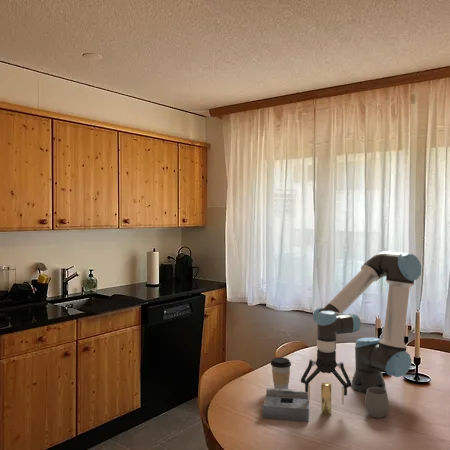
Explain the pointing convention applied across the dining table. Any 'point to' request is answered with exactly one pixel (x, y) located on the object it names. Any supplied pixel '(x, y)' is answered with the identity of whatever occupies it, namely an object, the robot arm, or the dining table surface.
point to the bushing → (326, 399)
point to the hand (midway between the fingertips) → (325, 401)
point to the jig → (286, 405)
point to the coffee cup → (281, 372)
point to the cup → (376, 402)
